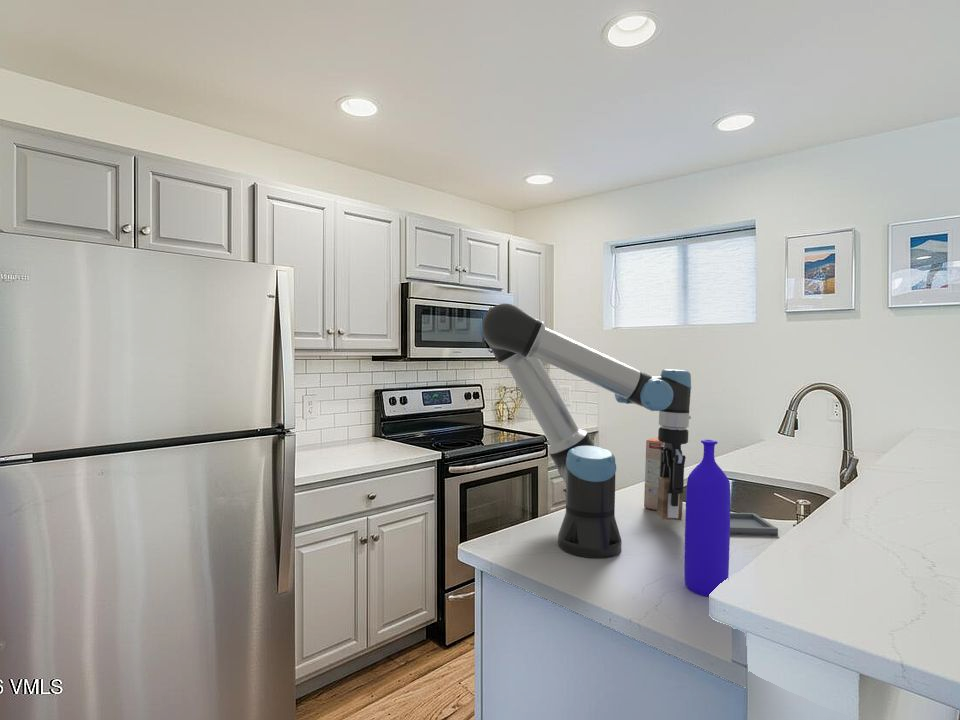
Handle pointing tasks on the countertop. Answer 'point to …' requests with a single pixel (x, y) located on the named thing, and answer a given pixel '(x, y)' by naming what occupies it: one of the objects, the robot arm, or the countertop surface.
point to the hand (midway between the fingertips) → (669, 513)
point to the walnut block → (666, 499)
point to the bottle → (707, 525)
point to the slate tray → (750, 525)
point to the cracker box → (652, 472)
